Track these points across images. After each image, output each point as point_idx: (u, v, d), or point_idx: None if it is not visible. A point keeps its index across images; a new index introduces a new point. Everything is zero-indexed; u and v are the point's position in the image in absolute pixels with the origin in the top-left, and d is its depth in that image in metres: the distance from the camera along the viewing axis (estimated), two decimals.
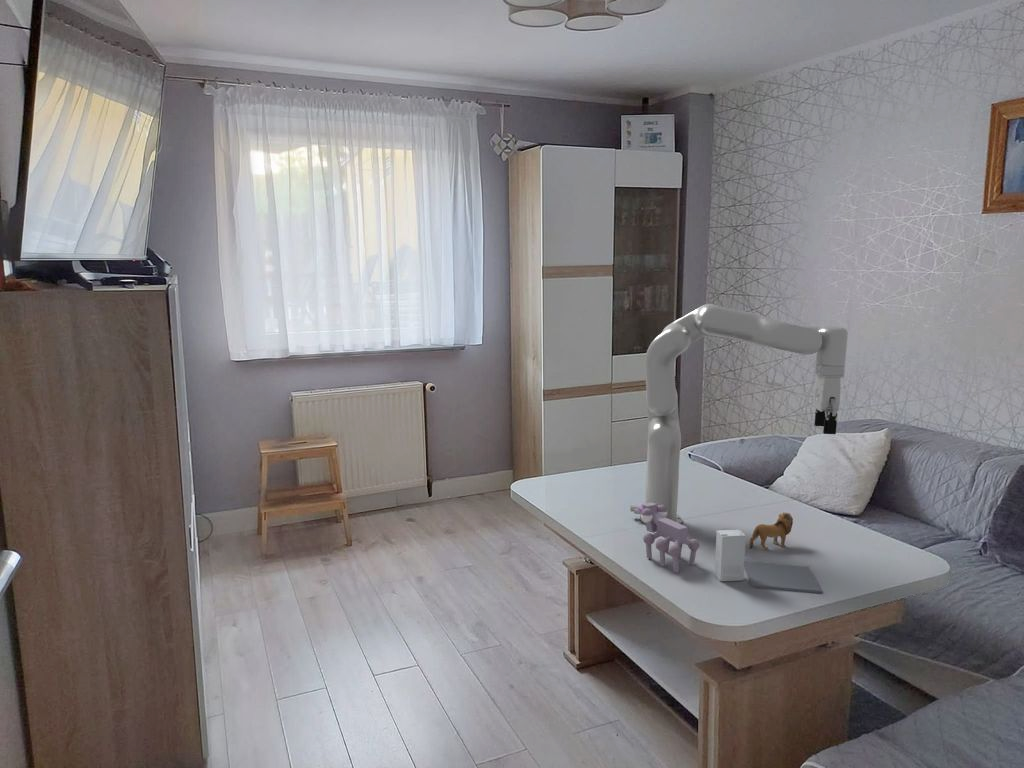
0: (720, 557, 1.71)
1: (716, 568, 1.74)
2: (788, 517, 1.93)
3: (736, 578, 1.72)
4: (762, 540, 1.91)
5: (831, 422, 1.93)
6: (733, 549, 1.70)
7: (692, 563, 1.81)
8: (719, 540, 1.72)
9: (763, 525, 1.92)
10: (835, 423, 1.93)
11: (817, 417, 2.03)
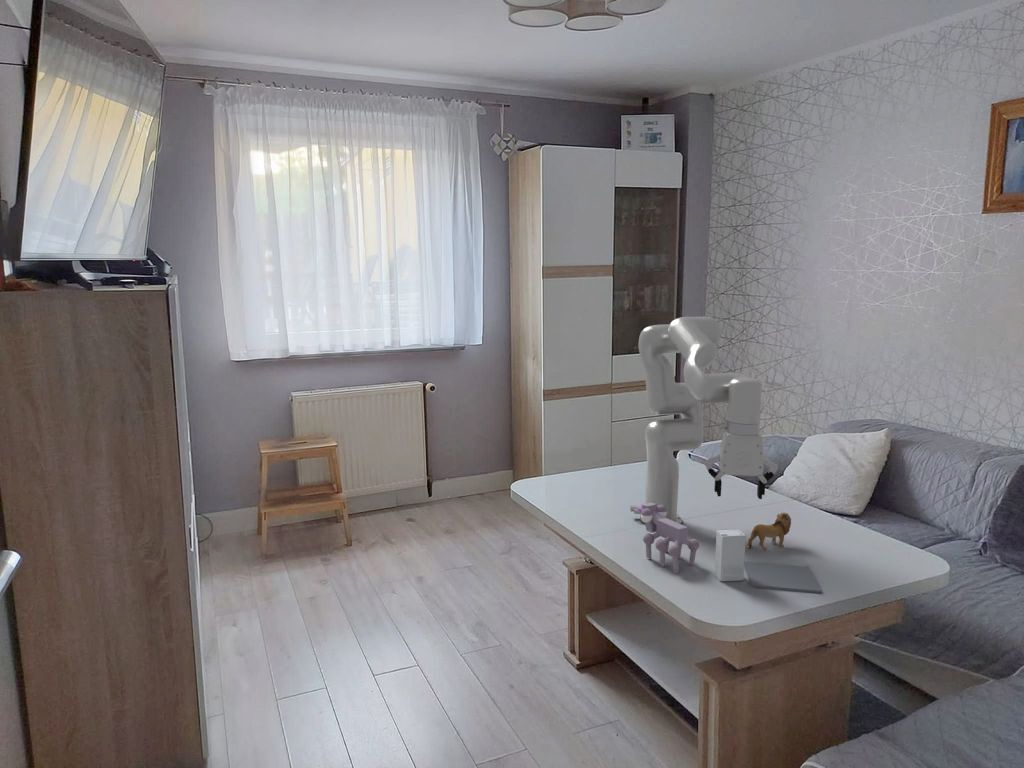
0: (720, 557, 1.71)
1: (716, 568, 1.74)
2: (786, 517, 1.93)
3: (736, 578, 1.72)
4: (761, 540, 1.91)
5: (764, 484, 1.70)
6: (733, 549, 1.70)
7: (692, 563, 1.81)
8: (719, 540, 1.72)
9: (761, 525, 1.92)
10: None
11: None
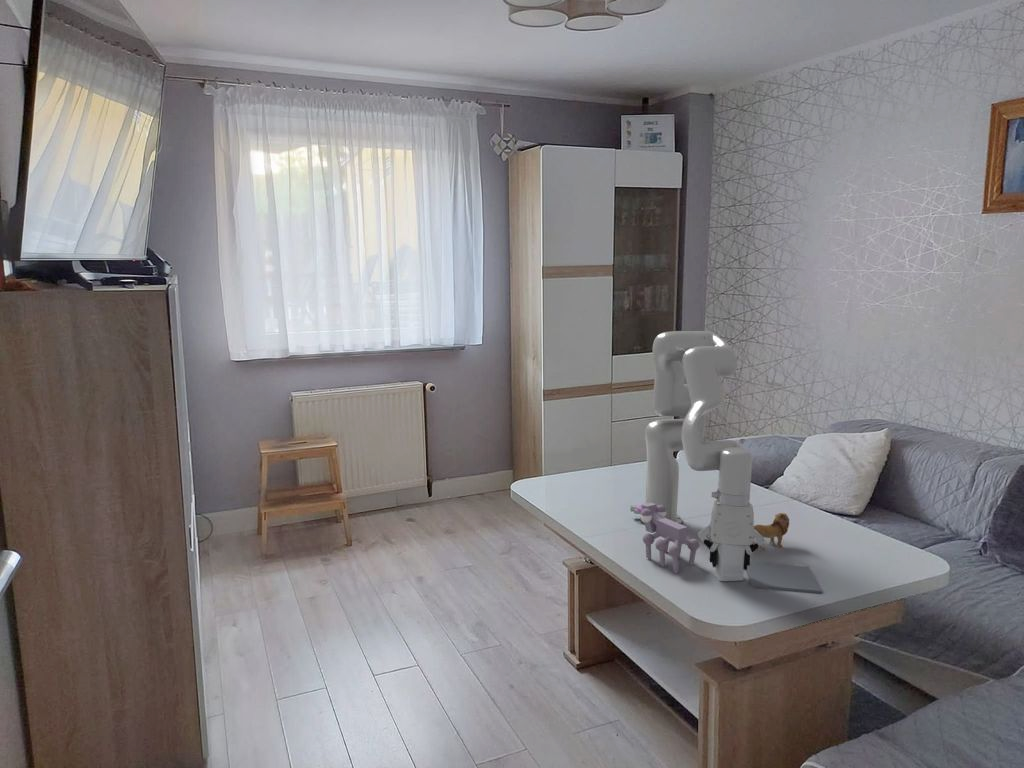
0: (720, 557, 1.71)
1: (716, 568, 1.74)
2: (784, 518, 1.93)
3: (736, 578, 1.72)
4: None
5: (749, 554, 1.72)
6: (733, 549, 1.70)
7: (692, 563, 1.81)
8: None
9: (760, 526, 1.91)
10: None
11: None
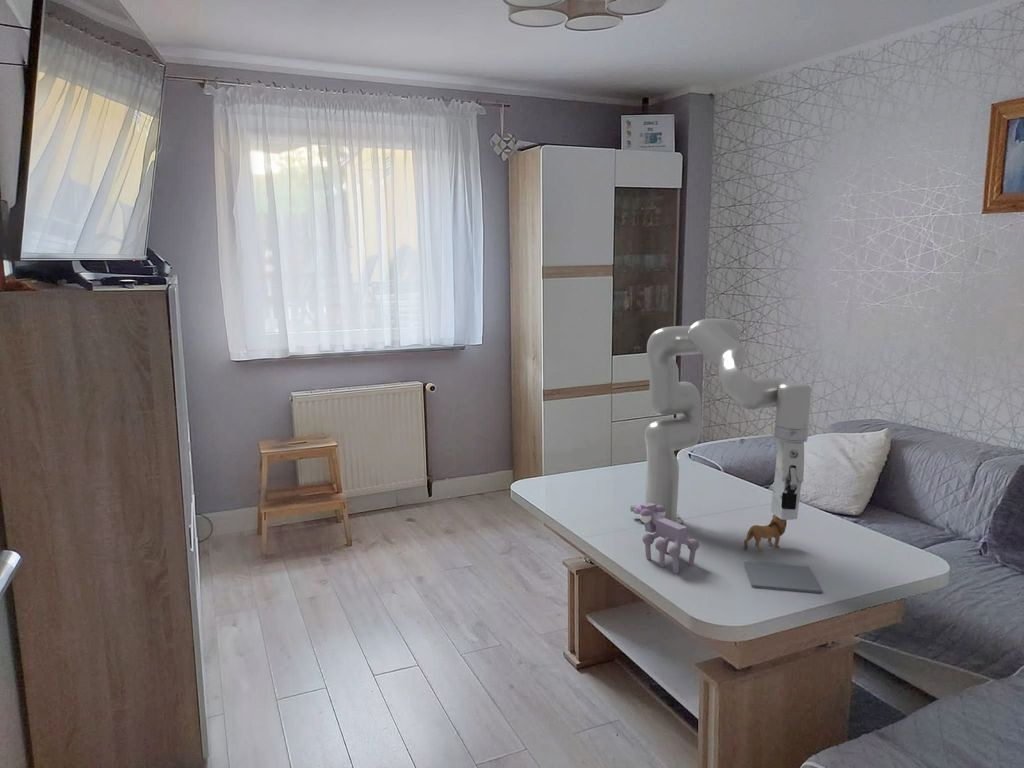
0: (797, 495, 1.68)
1: (786, 511, 1.69)
2: None
3: None
4: (756, 541, 1.91)
5: None
6: None
7: (692, 563, 1.81)
8: None
9: (757, 526, 1.91)
10: None
11: None
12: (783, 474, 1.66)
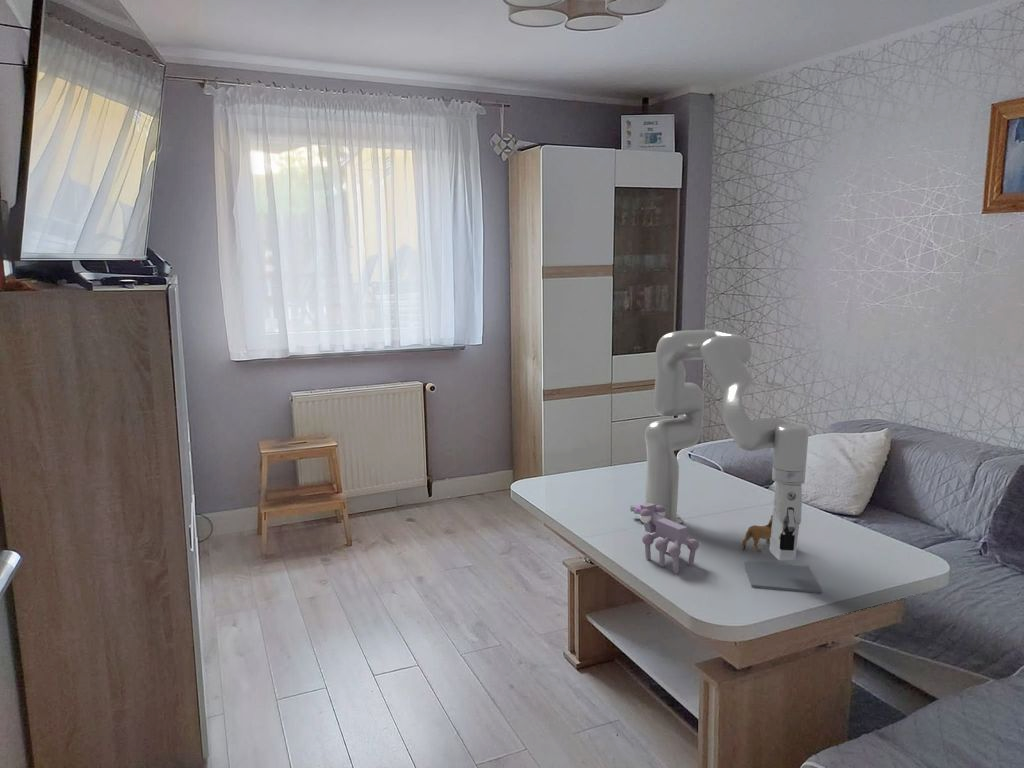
0: (795, 535, 1.70)
1: (784, 551, 1.70)
2: None
3: None
4: (755, 541, 1.90)
5: None
6: None
7: (692, 563, 1.81)
8: None
9: (756, 526, 1.91)
10: None
11: None
12: (781, 516, 1.67)
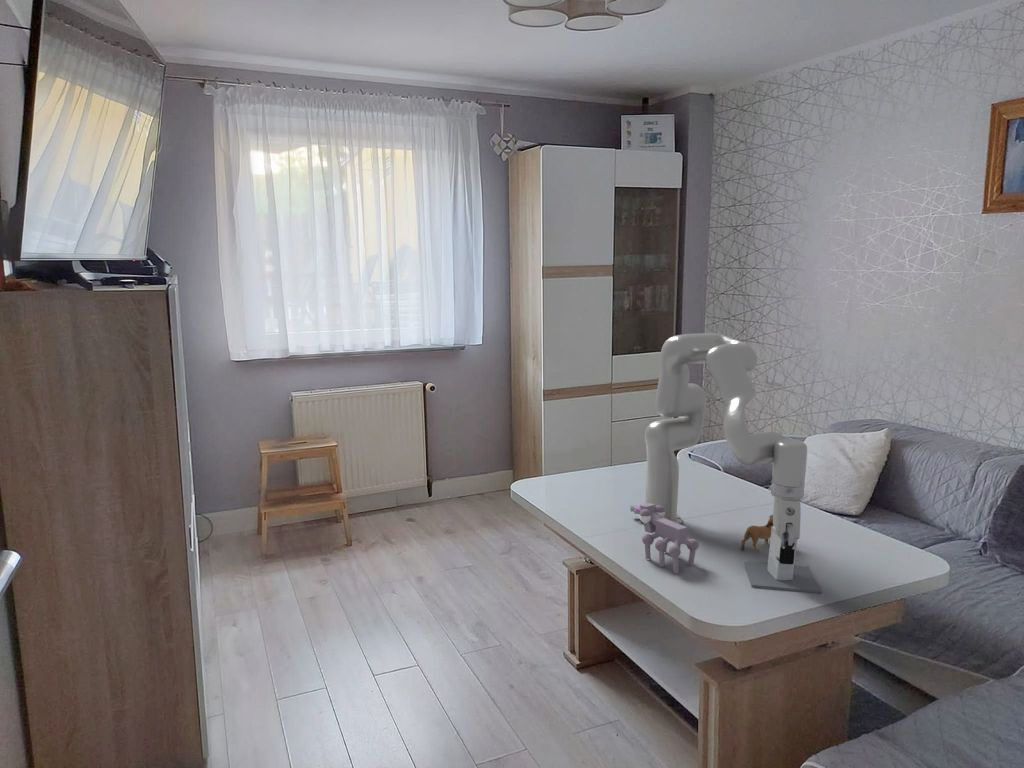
0: None
1: (782, 572, 1.71)
2: None
3: None
4: (754, 542, 1.90)
5: None
6: None
7: (692, 563, 1.81)
8: None
9: (754, 527, 1.91)
10: None
11: None
12: (780, 531, 1.68)
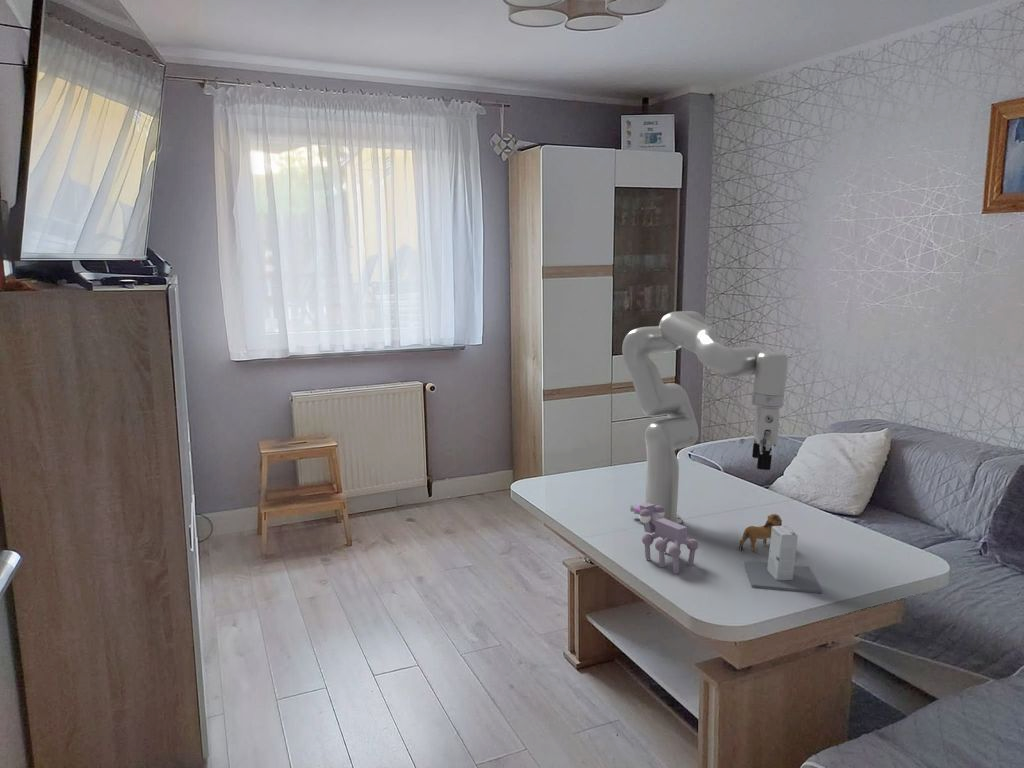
0: (793, 556, 1.70)
1: (782, 572, 1.71)
2: (777, 519, 1.92)
3: None
4: (752, 542, 1.90)
5: None
6: None
7: (692, 563, 1.81)
8: (788, 542, 1.70)
9: (753, 527, 1.90)
10: None
11: None
12: (758, 438, 1.76)
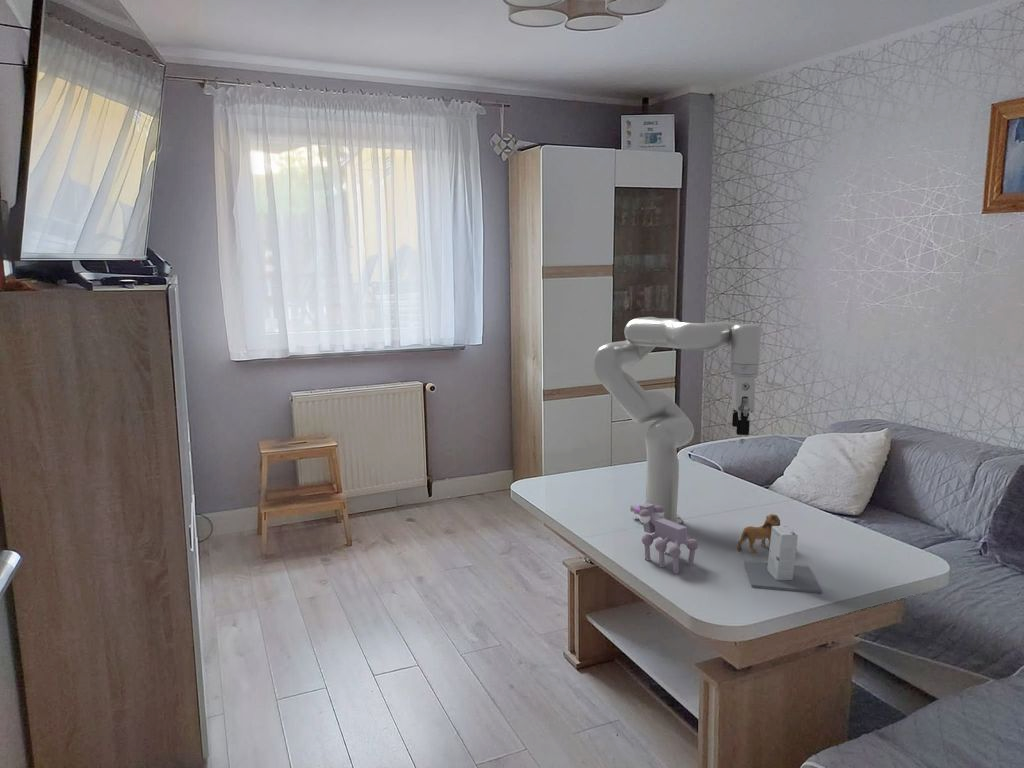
0: (793, 556, 1.70)
1: (782, 572, 1.71)
2: (775, 519, 1.92)
3: None
4: (750, 542, 1.90)
5: None
6: None
7: (691, 563, 1.81)
8: (788, 542, 1.70)
9: (751, 527, 1.90)
10: None
11: None
12: (736, 405, 1.86)
